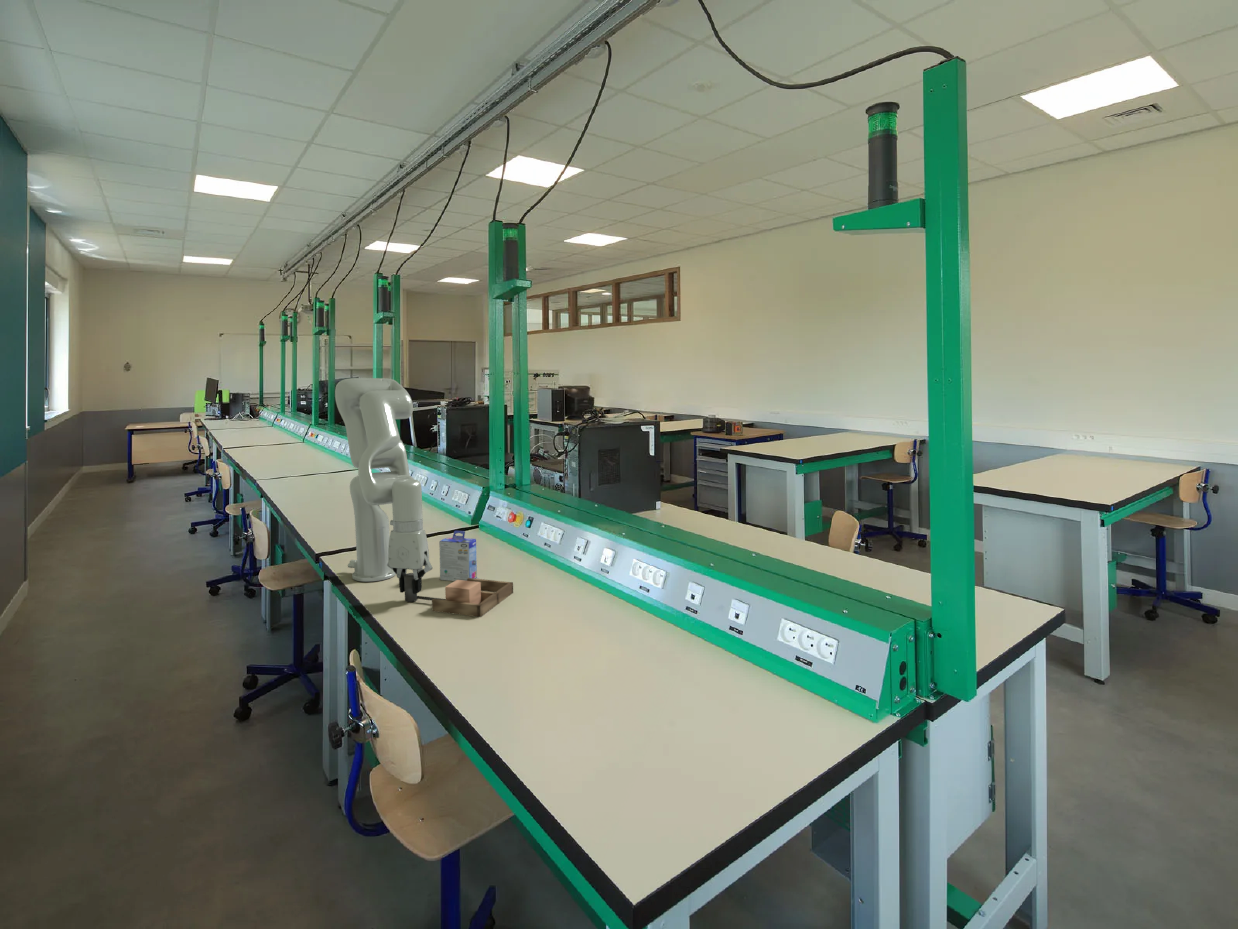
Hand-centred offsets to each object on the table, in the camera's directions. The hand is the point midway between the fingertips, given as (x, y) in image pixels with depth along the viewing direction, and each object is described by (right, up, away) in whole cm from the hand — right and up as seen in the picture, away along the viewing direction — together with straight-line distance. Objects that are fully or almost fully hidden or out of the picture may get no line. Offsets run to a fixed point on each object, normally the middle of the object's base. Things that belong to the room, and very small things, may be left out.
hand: (410, 591), depth 169 cm
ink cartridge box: (+8, 0, +19) cm, 21 cm away
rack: (+17, -3, 0) cm, 17 cm away
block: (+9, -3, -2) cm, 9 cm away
